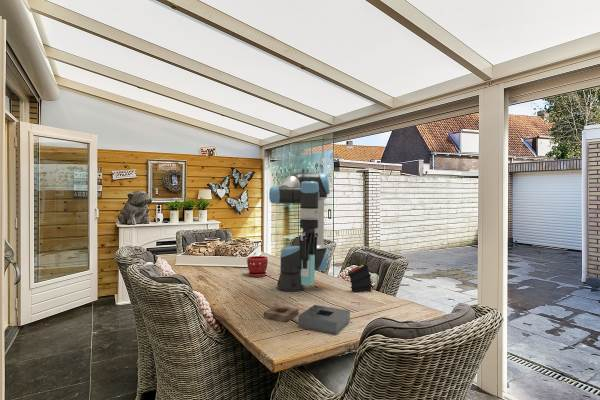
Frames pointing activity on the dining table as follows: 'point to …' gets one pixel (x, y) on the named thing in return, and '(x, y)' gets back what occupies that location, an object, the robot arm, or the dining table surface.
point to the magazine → (360, 278)
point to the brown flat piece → (281, 313)
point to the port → (324, 319)
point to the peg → (309, 279)
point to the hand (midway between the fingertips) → (308, 275)
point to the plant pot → (257, 266)
